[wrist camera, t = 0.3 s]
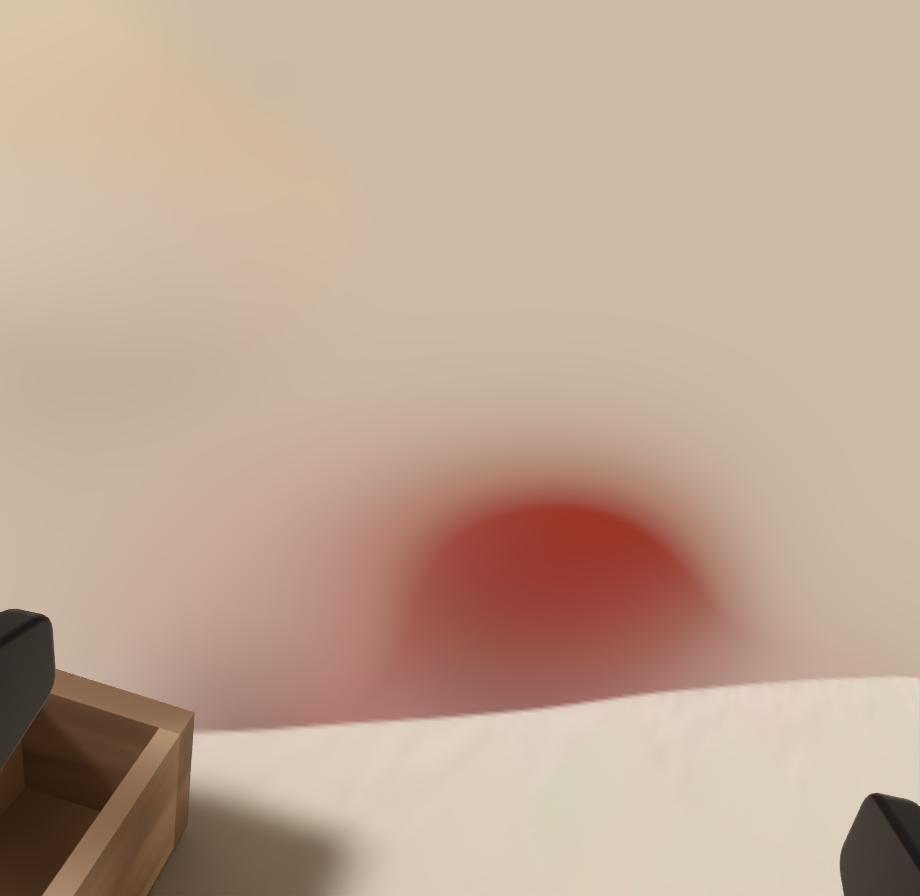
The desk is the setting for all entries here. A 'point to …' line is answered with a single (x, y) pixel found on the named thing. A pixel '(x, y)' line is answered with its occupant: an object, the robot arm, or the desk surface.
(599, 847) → the desk surface
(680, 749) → the desk surface
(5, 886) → the socket
